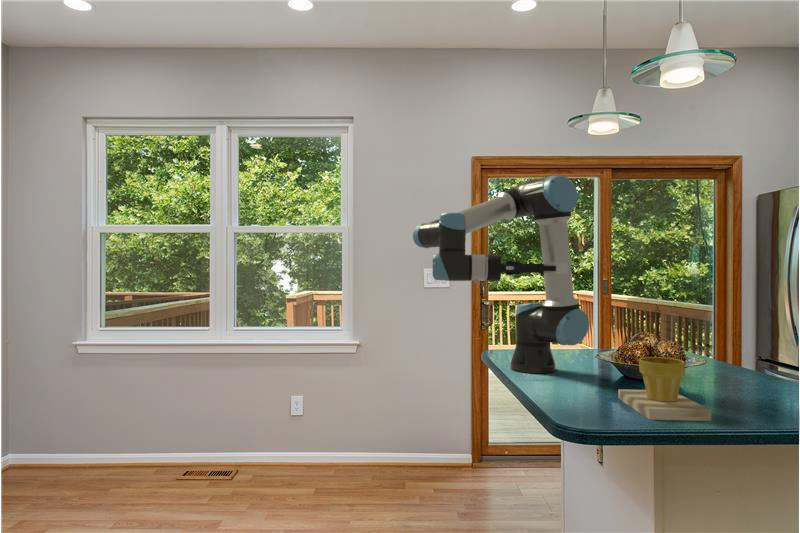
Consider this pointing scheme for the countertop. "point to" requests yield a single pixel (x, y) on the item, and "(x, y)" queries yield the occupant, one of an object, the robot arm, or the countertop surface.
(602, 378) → the countertop surface
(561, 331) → the robot arm
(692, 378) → the countertop surface
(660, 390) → the plant pot
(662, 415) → the birch stand
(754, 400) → the countertop surface
